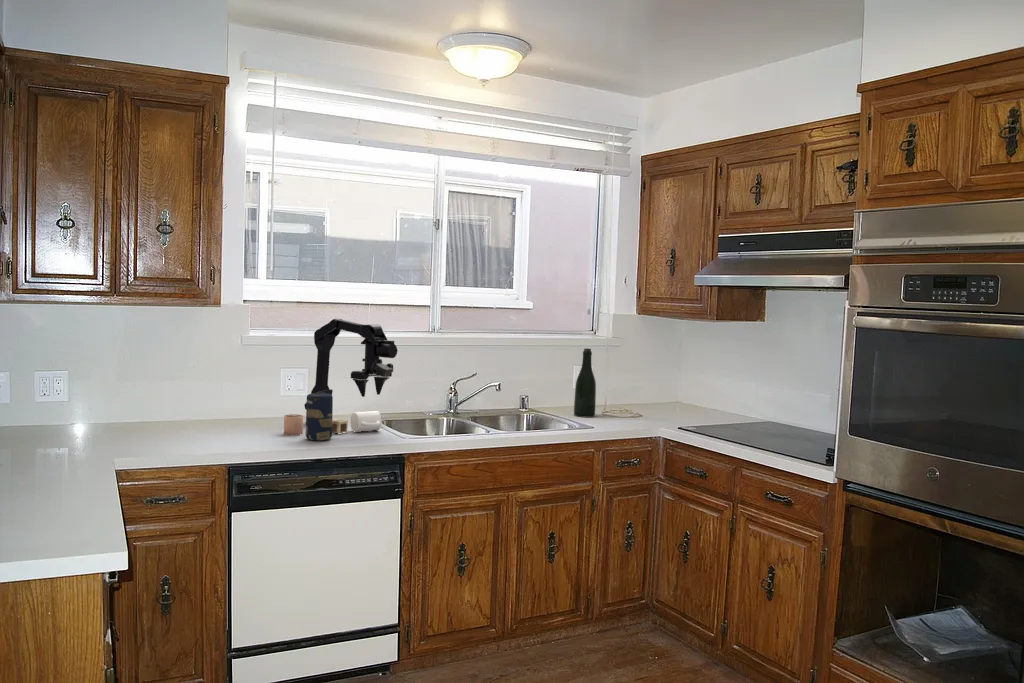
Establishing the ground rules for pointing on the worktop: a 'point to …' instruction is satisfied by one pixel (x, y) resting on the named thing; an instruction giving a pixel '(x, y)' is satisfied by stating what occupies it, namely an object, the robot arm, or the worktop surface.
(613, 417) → the worktop surface
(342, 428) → the letter cube
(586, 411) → the beer bottle
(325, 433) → the canister
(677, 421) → the worktop surface
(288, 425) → the cup
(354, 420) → the mug
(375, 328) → the robot arm
